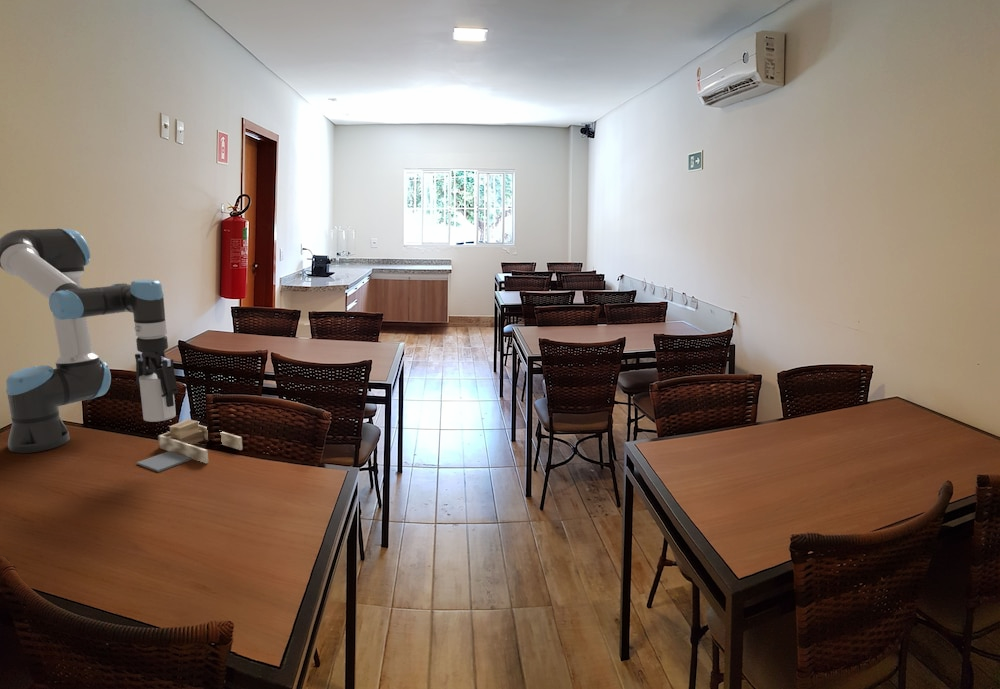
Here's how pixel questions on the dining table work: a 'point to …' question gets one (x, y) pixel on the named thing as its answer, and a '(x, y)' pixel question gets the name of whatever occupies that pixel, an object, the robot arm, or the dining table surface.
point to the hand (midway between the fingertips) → (159, 414)
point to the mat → (164, 461)
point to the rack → (193, 450)
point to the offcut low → (191, 438)
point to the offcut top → (184, 429)
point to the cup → (152, 398)
